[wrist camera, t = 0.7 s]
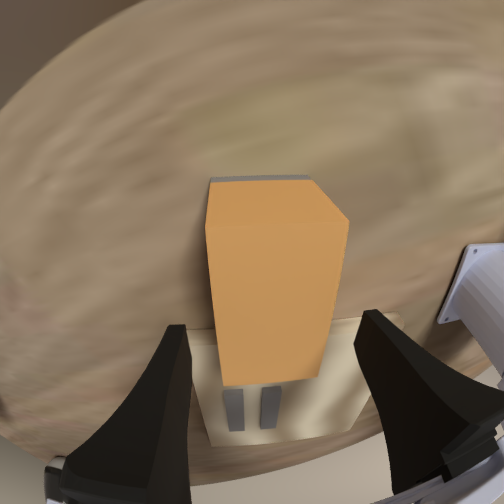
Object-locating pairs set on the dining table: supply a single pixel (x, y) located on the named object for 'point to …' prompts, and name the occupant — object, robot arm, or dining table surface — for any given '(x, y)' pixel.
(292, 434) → the board
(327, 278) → the block
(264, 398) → the graphite strip
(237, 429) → the graphite strip
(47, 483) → the black egg shaped device
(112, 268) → the dining table surface
